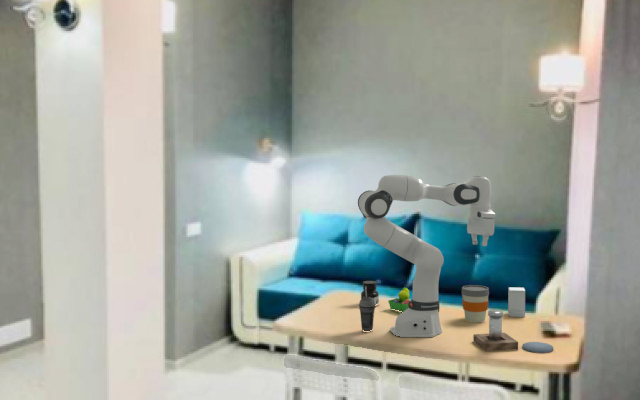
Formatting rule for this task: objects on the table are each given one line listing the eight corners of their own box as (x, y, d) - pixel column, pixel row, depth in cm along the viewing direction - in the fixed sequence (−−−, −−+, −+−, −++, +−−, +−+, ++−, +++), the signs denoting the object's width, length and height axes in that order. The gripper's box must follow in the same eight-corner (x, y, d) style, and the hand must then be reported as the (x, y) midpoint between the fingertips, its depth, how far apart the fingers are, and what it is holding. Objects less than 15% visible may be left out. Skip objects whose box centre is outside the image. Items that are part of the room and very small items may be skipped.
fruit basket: (387, 310, 347) (387, 288, 346) (399, 307, 353) (399, 285, 352) (405, 315, 339) (405, 291, 338) (416, 311, 345) (416, 288, 344)
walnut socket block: (485, 351, 282) (485, 344, 281) (473, 341, 295) (473, 334, 295) (518, 349, 284) (518, 342, 283) (504, 339, 297) (504, 332, 297)
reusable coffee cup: (479, 315, 336) (480, 284, 335) (494, 321, 325) (494, 289, 323) (456, 317, 333) (456, 286, 331) (470, 324, 321) (470, 291, 319)
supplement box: (525, 317, 331) (525, 290, 330) (508, 316, 333) (509, 290, 332) (523, 313, 338) (524, 287, 337) (507, 312, 340) (508, 286, 339)
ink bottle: (373, 308, 352) (373, 284, 350) (357, 306, 356) (357, 283, 355) (382, 304, 360) (381, 281, 359) (366, 302, 364) (366, 279, 363)
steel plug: (491, 348, 286) (491, 314, 285) (485, 343, 292) (485, 310, 290) (505, 347, 287) (505, 313, 285) (499, 342, 293) (499, 309, 291)
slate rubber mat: (530, 353, 278) (530, 351, 278) (517, 344, 290) (517, 342, 290) (558, 351, 279) (558, 350, 279) (544, 343, 291) (544, 341, 291)
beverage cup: (363, 334, 307) (363, 289, 305) (356, 330, 314) (355, 286, 312) (378, 332, 310) (378, 287, 308) (370, 328, 317) (370, 284, 315)
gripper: (464, 212, 318) (463, 243, 318) (483, 213, 298) (482, 246, 298) (477, 213, 319) (476, 243, 319) (497, 214, 299) (496, 246, 299)
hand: (479, 245), depth 308 cm, fingers open, 8 cm apart
